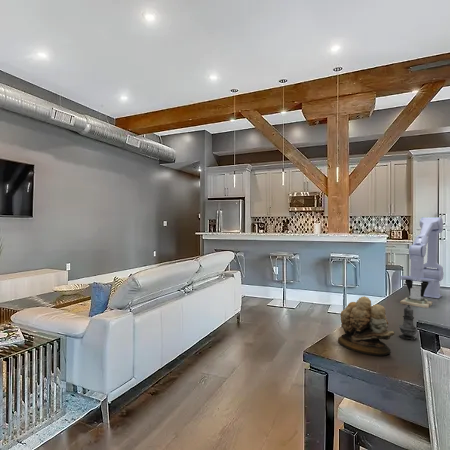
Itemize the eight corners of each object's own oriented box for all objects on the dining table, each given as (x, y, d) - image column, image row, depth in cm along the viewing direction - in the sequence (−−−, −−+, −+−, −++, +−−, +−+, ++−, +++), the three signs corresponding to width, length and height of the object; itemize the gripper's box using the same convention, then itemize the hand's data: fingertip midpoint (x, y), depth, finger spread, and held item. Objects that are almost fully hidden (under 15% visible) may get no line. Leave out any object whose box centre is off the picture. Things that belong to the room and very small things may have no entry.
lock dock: (406, 299, 173) (406, 295, 173) (432, 303, 164) (432, 299, 164) (400, 303, 165) (400, 298, 165) (427, 308, 156) (427, 303, 156)
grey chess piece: (395, 334, 120) (395, 302, 119) (410, 334, 120) (411, 302, 120) (405, 340, 114) (406, 306, 113) (421, 340, 114) (422, 306, 114)
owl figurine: (400, 351, 105) (401, 298, 105) (385, 361, 97) (386, 305, 97) (347, 335, 118) (348, 289, 118) (330, 344, 110) (331, 294, 110)
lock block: (412, 298, 168) (412, 286, 168) (422, 300, 165) (422, 288, 164) (410, 300, 164) (410, 288, 164) (420, 301, 161) (420, 289, 161)
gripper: (398, 268, 166) (398, 294, 167) (431, 271, 156) (431, 299, 157) (402, 266, 171) (402, 292, 172) (435, 269, 162) (434, 297, 162)
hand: (416, 295), depth 164 cm, fingers closed on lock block, 4 cm apart
